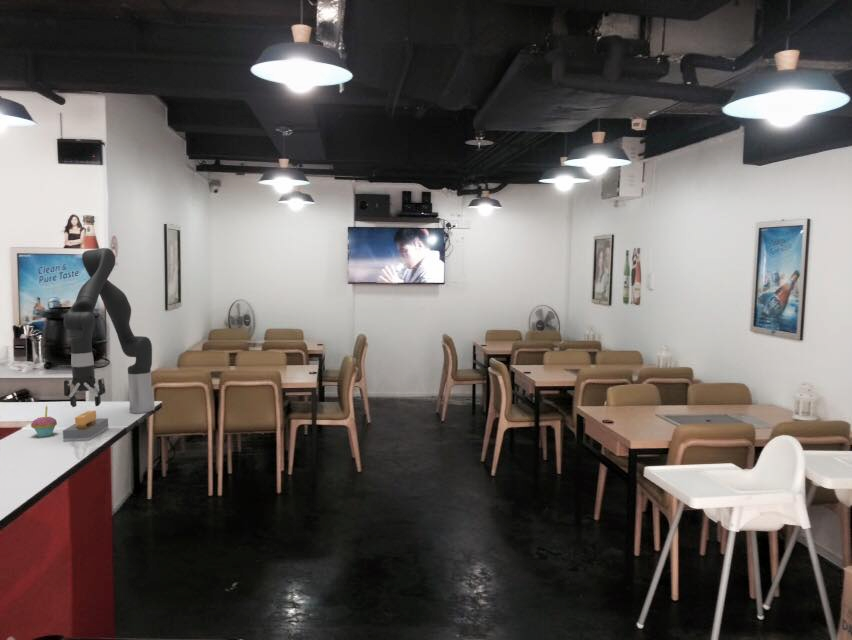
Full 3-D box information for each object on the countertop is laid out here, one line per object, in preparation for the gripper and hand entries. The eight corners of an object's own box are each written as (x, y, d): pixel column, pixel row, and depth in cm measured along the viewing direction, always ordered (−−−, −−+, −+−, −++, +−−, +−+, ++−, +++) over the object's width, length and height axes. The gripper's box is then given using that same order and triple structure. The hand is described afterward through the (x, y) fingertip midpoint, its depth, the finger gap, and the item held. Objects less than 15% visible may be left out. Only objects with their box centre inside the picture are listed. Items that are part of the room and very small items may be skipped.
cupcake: (62, 433, 256) (60, 402, 255) (43, 439, 248) (41, 407, 247) (46, 431, 259) (43, 401, 258) (26, 437, 251) (24, 406, 250)
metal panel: (85, 428, 262) (84, 418, 262) (108, 428, 263) (107, 418, 263) (63, 441, 244) (62, 430, 244) (88, 440, 245) (87, 429, 245)
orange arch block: (89, 428, 259) (88, 410, 258) (96, 428, 259) (95, 410, 258) (76, 435, 248) (74, 417, 247) (84, 435, 248) (83, 417, 248)
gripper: (106, 362, 255) (109, 403, 257) (67, 363, 254) (71, 404, 256) (98, 365, 248) (101, 407, 250) (58, 366, 247) (61, 409, 249)
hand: (85, 406), depth 253 cm, fingers open, 8 cm apart
